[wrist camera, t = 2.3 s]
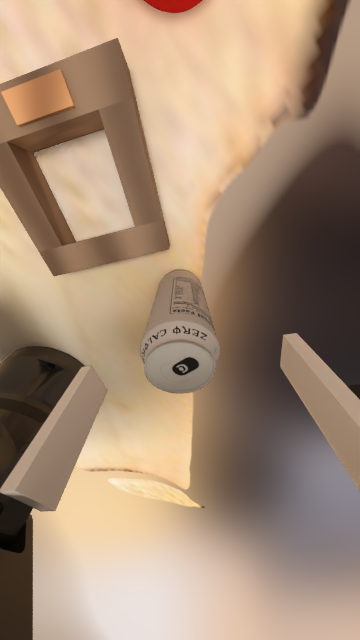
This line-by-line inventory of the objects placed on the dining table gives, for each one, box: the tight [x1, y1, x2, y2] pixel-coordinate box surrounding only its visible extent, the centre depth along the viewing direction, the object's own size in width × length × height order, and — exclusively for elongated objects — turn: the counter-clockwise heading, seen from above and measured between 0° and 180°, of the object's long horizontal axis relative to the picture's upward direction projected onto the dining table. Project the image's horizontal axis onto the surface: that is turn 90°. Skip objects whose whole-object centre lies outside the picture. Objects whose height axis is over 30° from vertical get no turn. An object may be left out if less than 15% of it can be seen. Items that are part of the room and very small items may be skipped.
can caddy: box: [0, 38, 170, 276], centre depth 18 cm, size 14×14×3 cm
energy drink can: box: [140, 270, 220, 393], centre depth 18 cm, size 6×6×15 cm
